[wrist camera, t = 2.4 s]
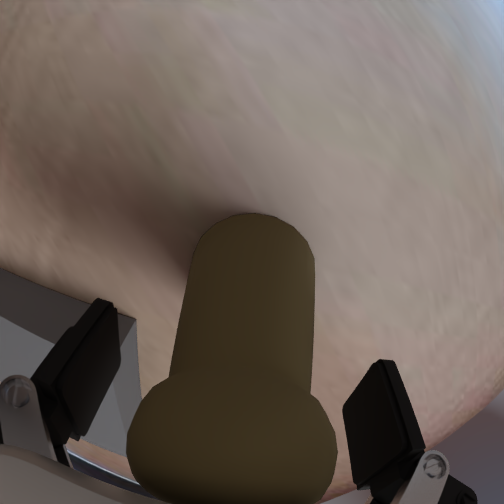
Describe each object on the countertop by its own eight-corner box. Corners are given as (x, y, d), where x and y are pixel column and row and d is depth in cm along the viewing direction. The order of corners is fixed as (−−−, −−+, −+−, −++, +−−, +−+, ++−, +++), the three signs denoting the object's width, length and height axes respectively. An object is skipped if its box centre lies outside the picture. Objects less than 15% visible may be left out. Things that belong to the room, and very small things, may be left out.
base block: (-11, 262, 16) (-42, 288, 12) (136, 319, 16) (109, 366, 13) (28, 375, 22) (12, 400, 18) (144, 425, 22) (133, 459, 19)
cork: (239, 336, 16) (211, 531, 6) (168, 256, 14) (52, 459, 4) (336, 287, 14) (390, 508, 4) (270, 187, 12) (264, 452, 2)
